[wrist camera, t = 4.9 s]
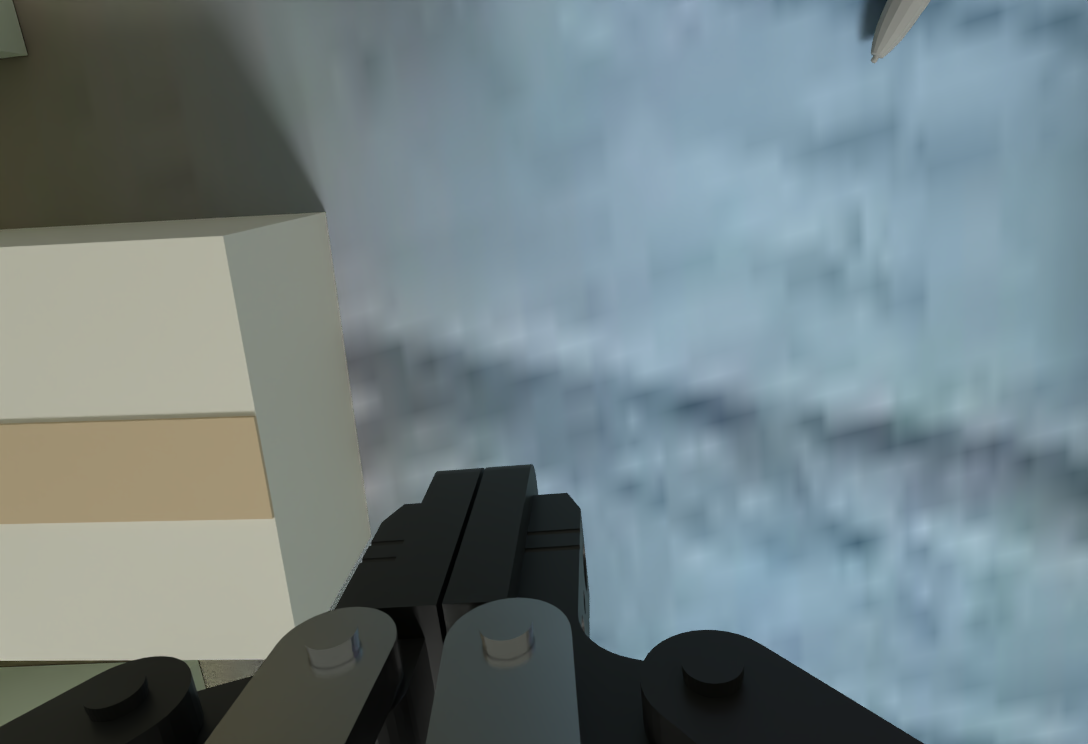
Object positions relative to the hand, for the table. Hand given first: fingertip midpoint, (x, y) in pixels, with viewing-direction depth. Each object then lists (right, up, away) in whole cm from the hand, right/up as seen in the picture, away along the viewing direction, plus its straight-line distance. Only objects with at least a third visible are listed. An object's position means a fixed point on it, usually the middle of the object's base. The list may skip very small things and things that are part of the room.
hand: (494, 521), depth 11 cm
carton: (-11, +2, +11) cm, 15 cm away
